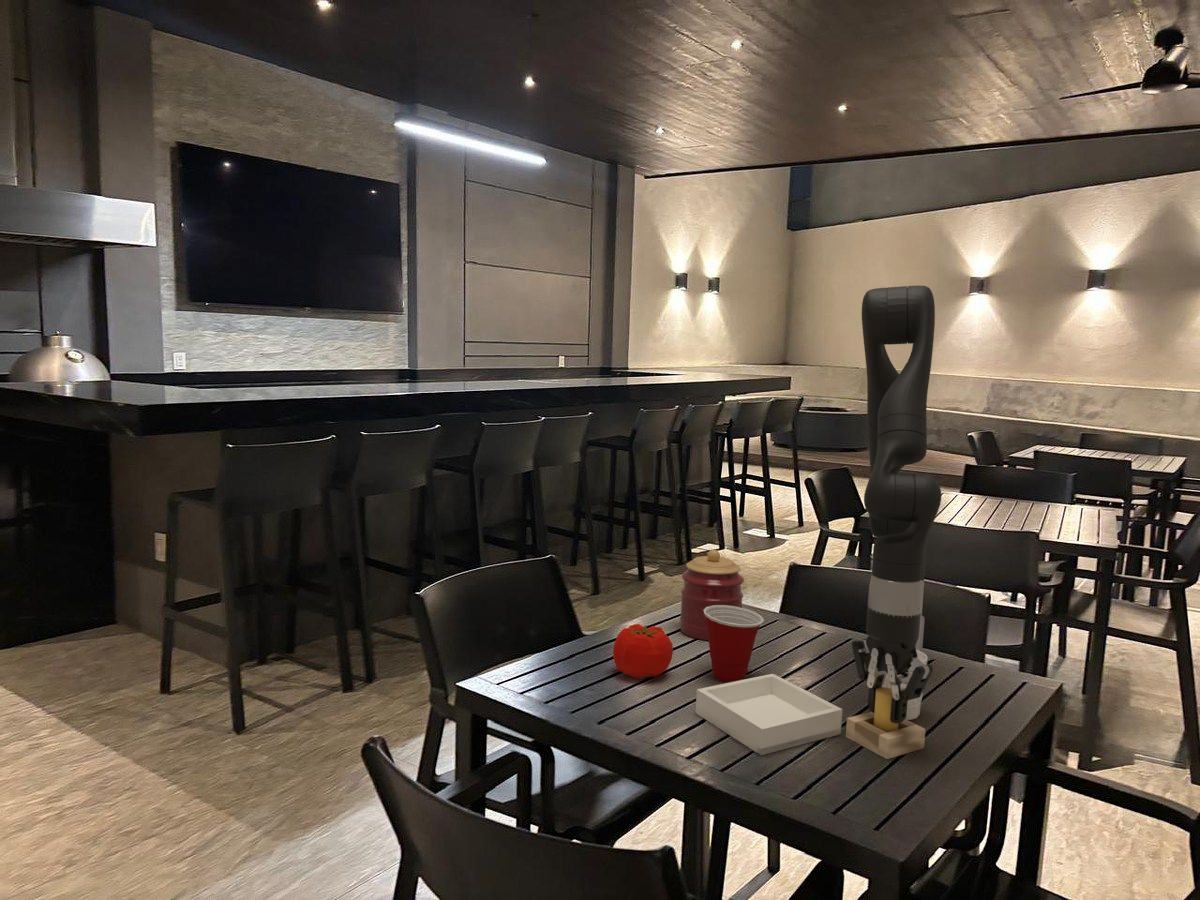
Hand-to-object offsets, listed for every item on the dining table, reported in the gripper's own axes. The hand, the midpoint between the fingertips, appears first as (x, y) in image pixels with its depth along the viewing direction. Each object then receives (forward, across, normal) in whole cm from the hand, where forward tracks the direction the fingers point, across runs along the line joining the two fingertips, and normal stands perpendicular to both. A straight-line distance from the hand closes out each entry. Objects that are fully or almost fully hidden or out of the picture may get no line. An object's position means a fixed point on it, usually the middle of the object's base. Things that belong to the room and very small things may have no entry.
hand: (886, 716), depth 125 cm
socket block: (+4, 0, 0) cm, 4 cm away
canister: (+4, +53, -7) cm, 54 cm away
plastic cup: (+4, +31, +5) cm, 32 cm away
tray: (+4, +13, +12) cm, 18 cm away
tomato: (+4, +39, +19) cm, 44 cm away
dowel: (+4, 0, 0) cm, 4 cm away
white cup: (+4, +7, -11) cm, 14 cm away
